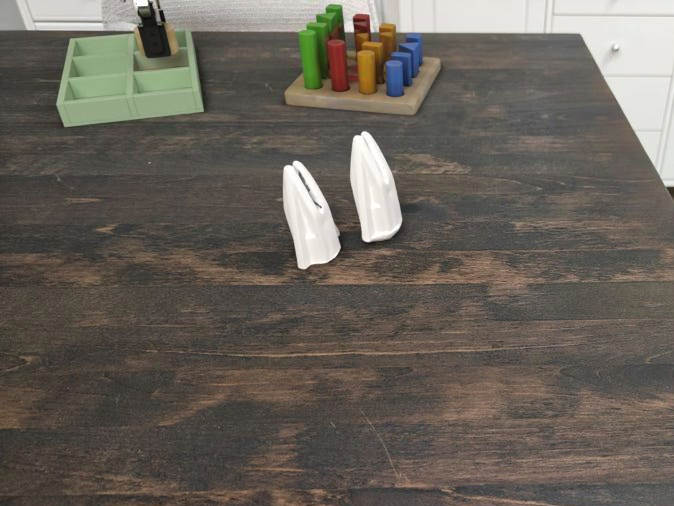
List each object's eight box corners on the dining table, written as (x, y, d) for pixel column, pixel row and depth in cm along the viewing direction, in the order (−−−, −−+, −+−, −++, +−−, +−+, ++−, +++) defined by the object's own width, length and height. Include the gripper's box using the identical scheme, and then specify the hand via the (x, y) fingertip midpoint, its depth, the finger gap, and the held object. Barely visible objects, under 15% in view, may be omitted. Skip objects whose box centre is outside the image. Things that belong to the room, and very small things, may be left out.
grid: (65, 129, 91) (56, 104, 89) (77, 60, 108) (69, 38, 106) (204, 113, 95) (199, 89, 93) (195, 50, 112) (190, 28, 110)
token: (139, 59, 97) (133, 35, 95) (140, 46, 101) (133, 23, 99) (179, 55, 99) (174, 32, 97) (178, 43, 102) (173, 20, 100)
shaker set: (397, 220, 76) (391, 115, 69) (416, 239, 74) (412, 133, 66) (285, 251, 72) (265, 143, 64) (301, 273, 69) (282, 162, 62)
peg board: (414, 117, 95) (412, 49, 90) (284, 106, 97) (273, 38, 91) (441, 68, 108) (440, 6, 103) (326, 59, 110) (318, -3, 104)
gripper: (86, -121, 92) (129, 31, 105) (78, -94, 80) (128, 75, 93) (150, -123, 94) (185, 27, 106) (151, -97, 82) (191, 69, 94)
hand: (158, 47), depth 99 cm, fingers closed on token, 4 cm apart
